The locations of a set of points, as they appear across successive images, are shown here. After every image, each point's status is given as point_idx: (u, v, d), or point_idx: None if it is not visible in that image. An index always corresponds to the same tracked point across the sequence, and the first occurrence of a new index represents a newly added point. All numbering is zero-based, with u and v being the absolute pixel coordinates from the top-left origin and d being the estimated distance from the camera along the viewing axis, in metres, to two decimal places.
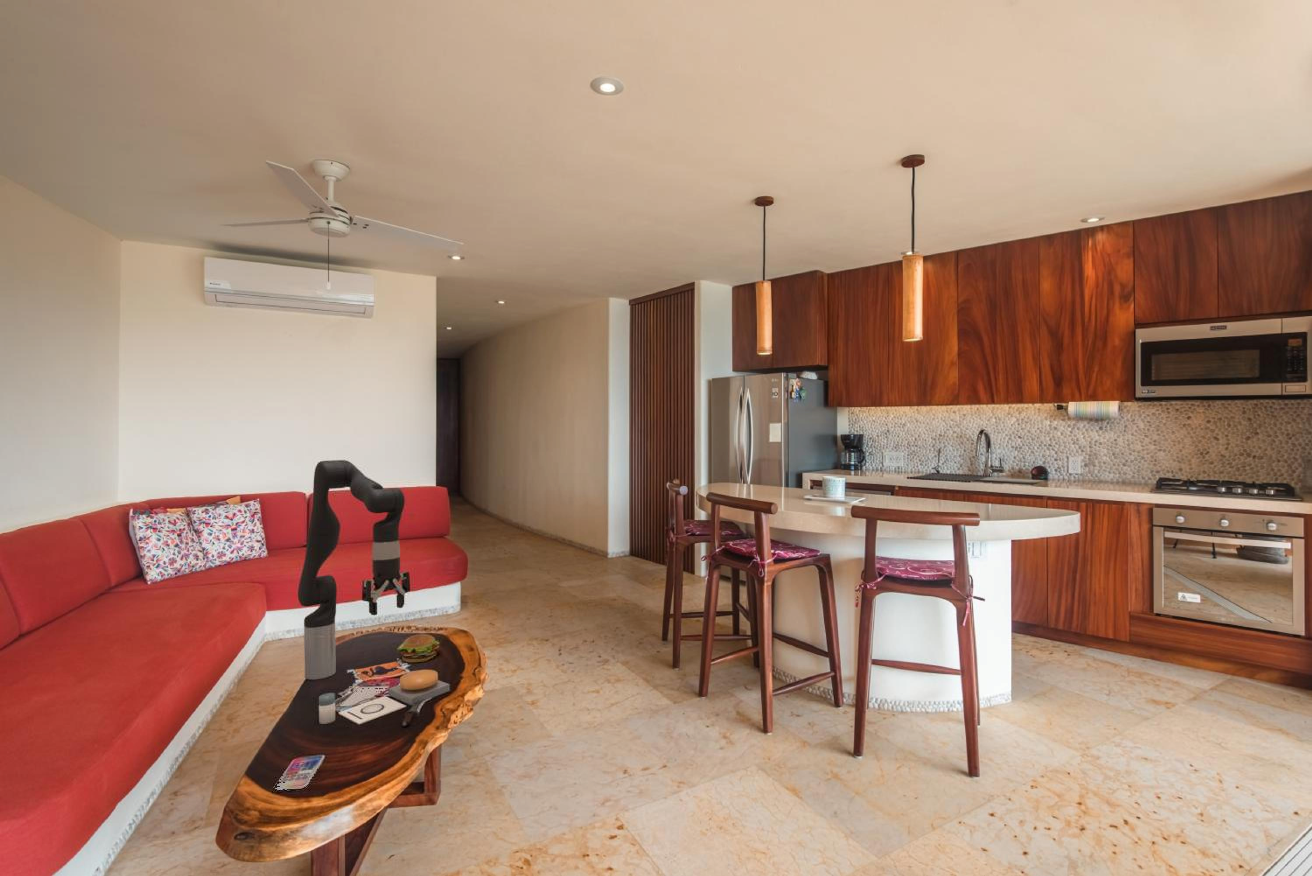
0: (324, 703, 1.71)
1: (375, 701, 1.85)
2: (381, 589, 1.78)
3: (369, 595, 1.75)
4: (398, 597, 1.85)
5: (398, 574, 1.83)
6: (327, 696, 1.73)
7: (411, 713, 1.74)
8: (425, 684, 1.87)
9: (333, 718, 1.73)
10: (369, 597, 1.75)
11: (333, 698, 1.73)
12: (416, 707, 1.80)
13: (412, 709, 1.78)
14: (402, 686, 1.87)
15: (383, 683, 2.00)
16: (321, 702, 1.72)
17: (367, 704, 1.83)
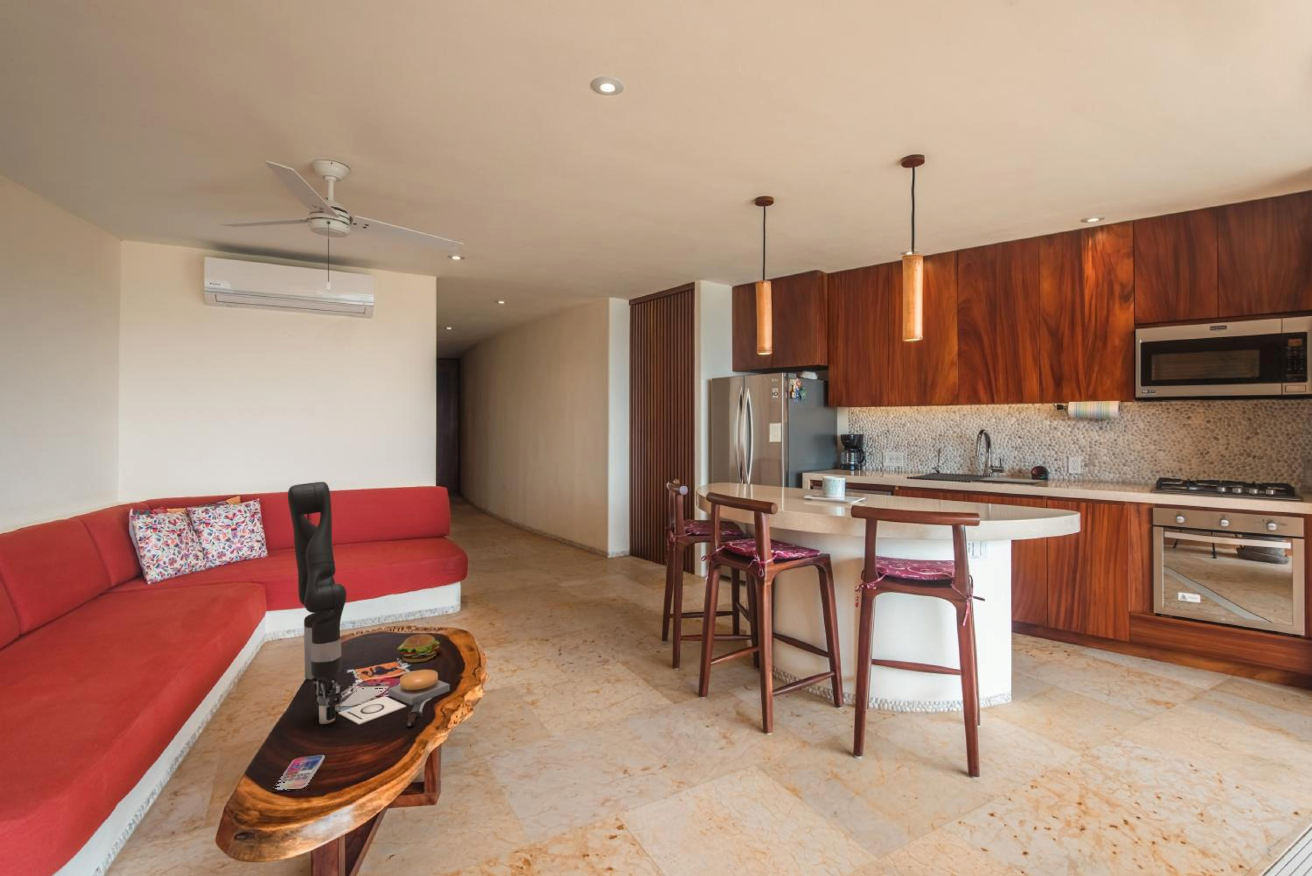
0: (324, 703, 1.71)
1: (375, 701, 1.85)
2: None
3: None
4: None
5: None
6: None
7: (414, 713, 1.74)
8: (425, 684, 1.87)
9: None
10: None
11: None
12: (417, 707, 1.80)
13: (414, 710, 1.78)
14: (402, 686, 1.87)
15: (383, 683, 2.00)
16: (321, 702, 1.72)
17: (367, 704, 1.83)
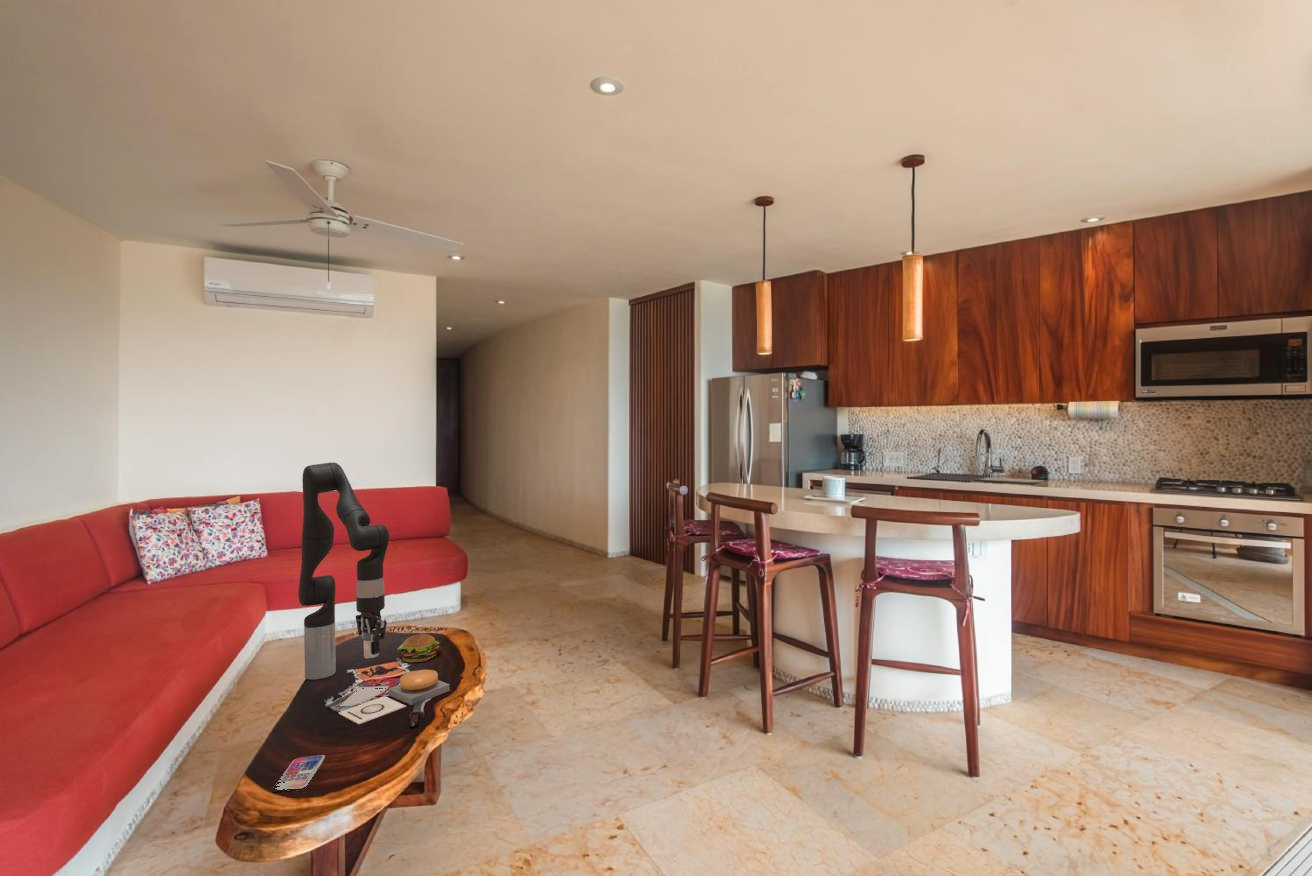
0: (369, 638, 1.78)
1: (375, 701, 1.85)
2: None
3: None
4: None
5: None
6: None
7: (416, 714, 1.74)
8: (425, 684, 1.87)
9: None
10: None
11: None
12: (418, 708, 1.79)
13: (415, 710, 1.78)
14: (402, 686, 1.87)
15: (383, 683, 2.00)
16: (366, 637, 1.78)
17: (367, 704, 1.83)
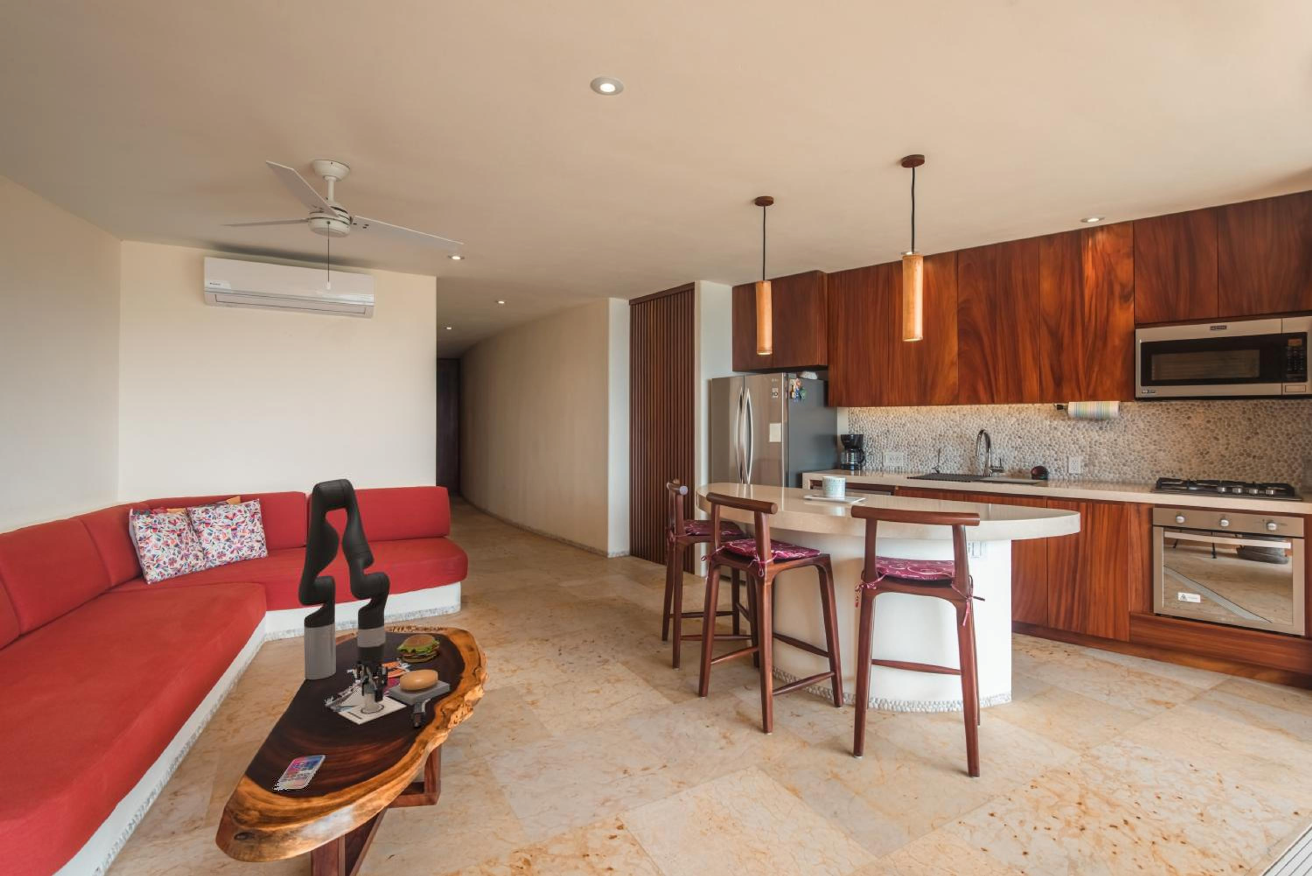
0: (369, 691, 1.78)
1: None
2: None
3: None
4: None
5: None
6: (372, 685, 1.79)
7: (418, 714, 1.74)
8: (425, 684, 1.87)
9: (378, 706, 1.79)
10: None
11: None
12: (419, 708, 1.79)
13: (416, 711, 1.77)
14: (402, 686, 1.87)
15: None
16: (366, 690, 1.78)
17: None
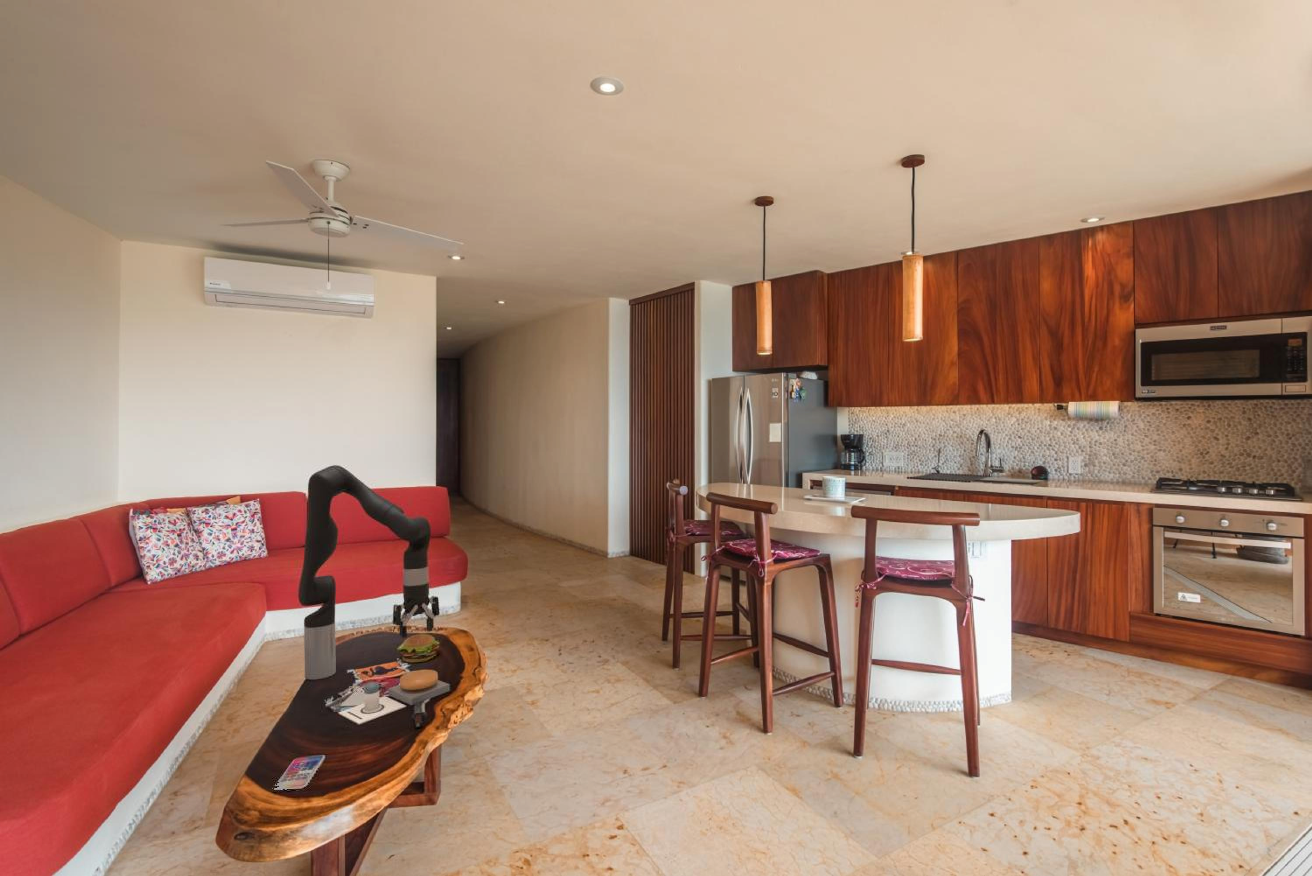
0: (369, 691, 1.78)
1: None
2: None
3: None
4: None
5: None
6: (372, 685, 1.79)
7: (419, 715, 1.73)
8: (425, 684, 1.87)
9: (378, 706, 1.79)
10: None
11: (378, 687, 1.80)
12: (419, 709, 1.79)
13: (416, 711, 1.77)
14: (402, 686, 1.87)
15: (383, 683, 2.00)
16: (366, 690, 1.78)
17: None
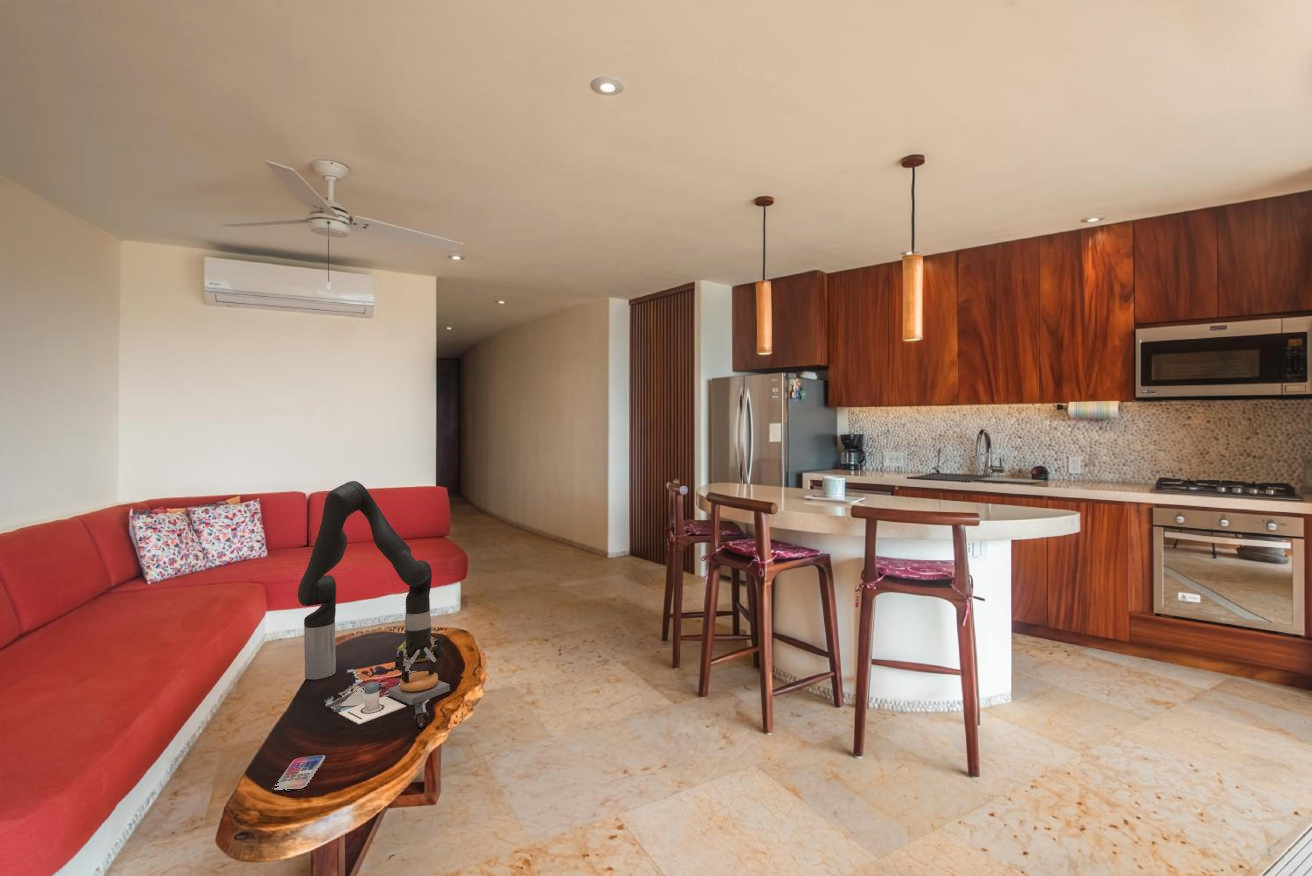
0: (369, 691, 1.78)
1: None
2: None
3: None
4: None
5: None
6: (372, 685, 1.79)
7: (421, 715, 1.73)
8: (425, 686, 1.87)
9: (378, 706, 1.79)
10: None
11: (378, 687, 1.80)
12: (420, 709, 1.78)
13: (418, 711, 1.77)
14: (402, 688, 1.87)
15: (383, 683, 2.00)
16: (366, 690, 1.78)
17: None
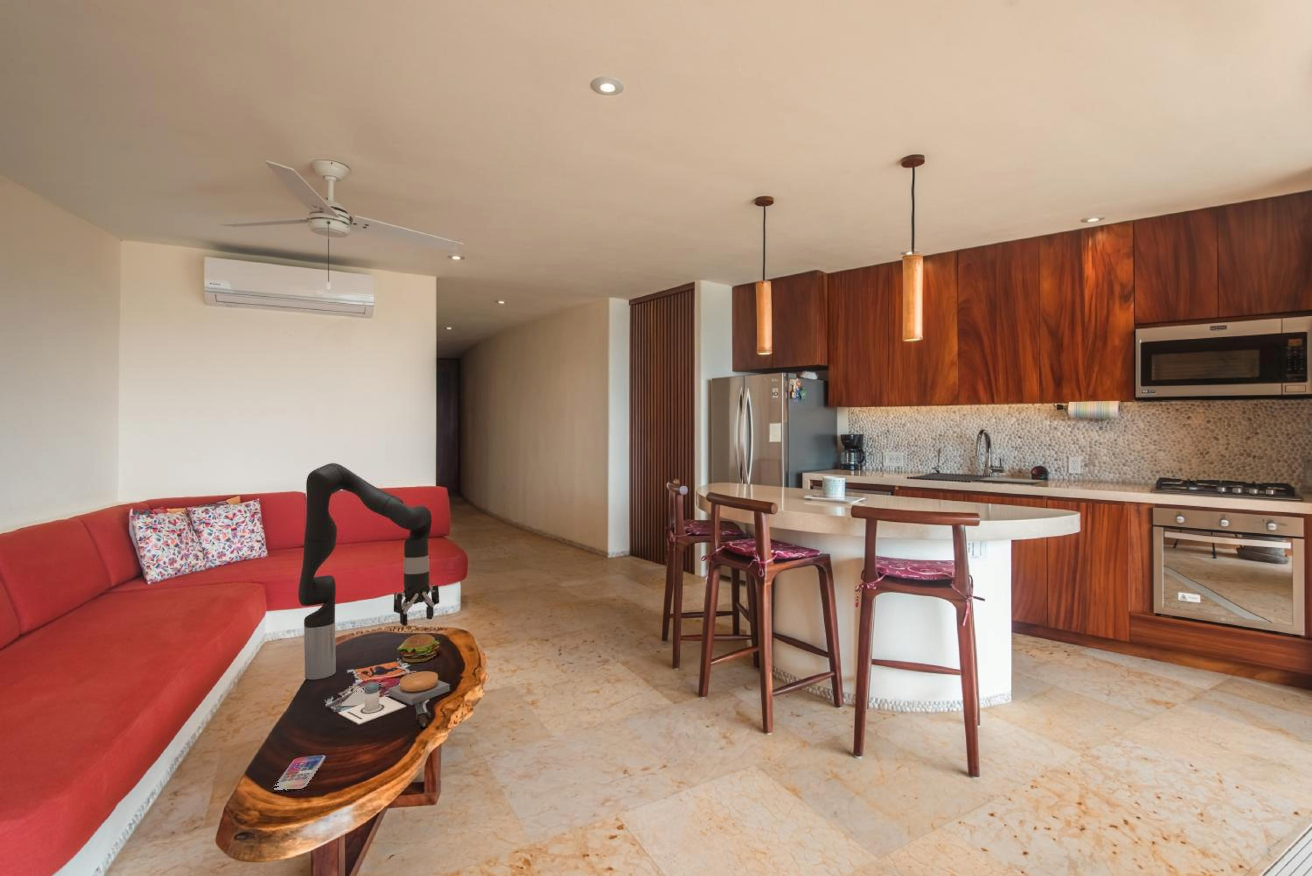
0: (369, 691, 1.78)
1: None
2: None
3: None
4: None
5: None
6: (372, 685, 1.79)
7: (423, 715, 1.73)
8: (425, 686, 1.87)
9: (378, 706, 1.79)
10: None
11: (378, 687, 1.80)
12: (421, 709, 1.78)
13: (419, 712, 1.76)
14: (402, 688, 1.87)
15: (383, 683, 2.00)
16: (366, 690, 1.78)
17: None
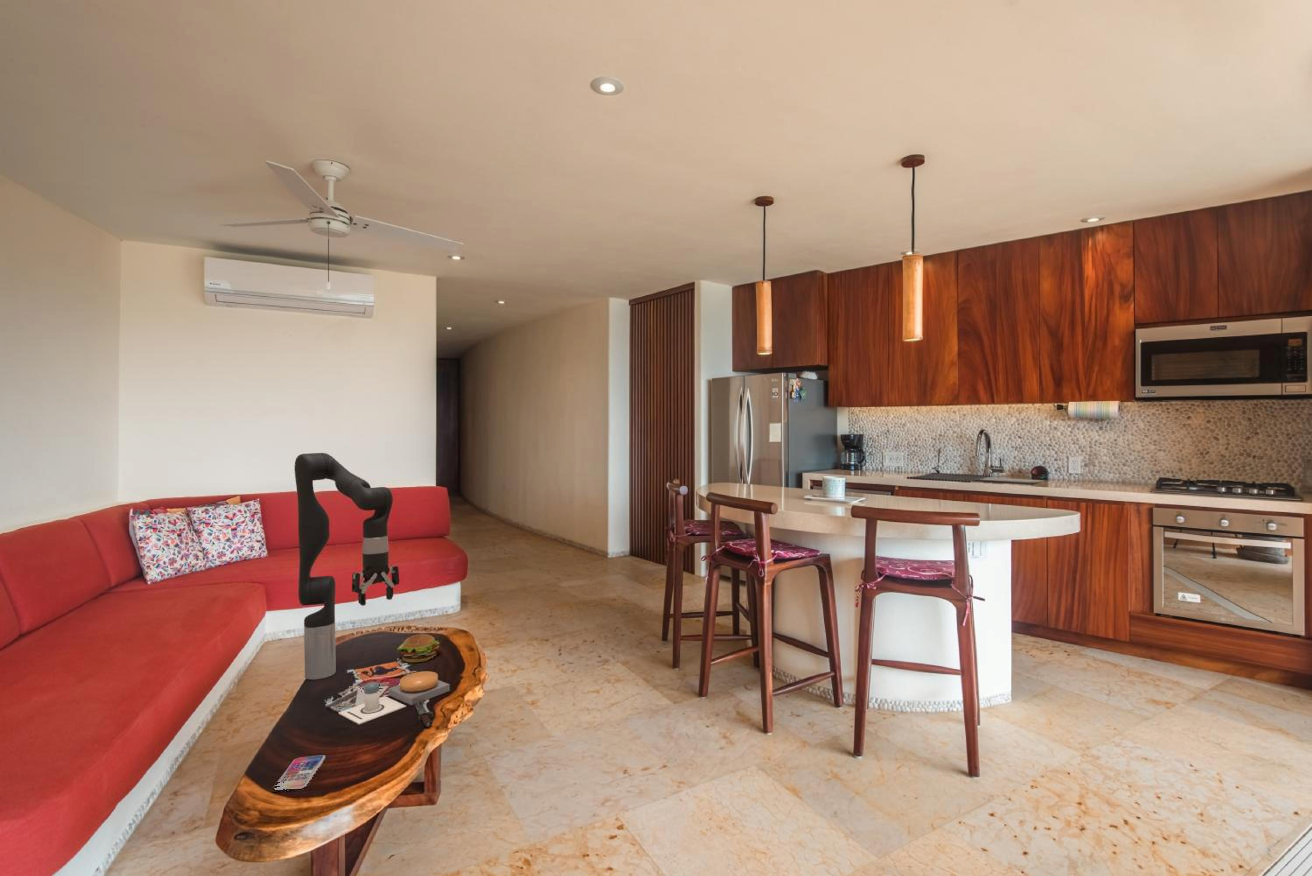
0: (369, 691, 1.78)
1: None
2: None
3: None
4: None
5: None
6: (372, 685, 1.79)
7: (426, 715, 1.73)
8: (425, 686, 1.87)
9: (378, 706, 1.79)
10: None
11: (377, 687, 1.80)
12: (423, 710, 1.78)
13: (421, 712, 1.76)
14: (402, 688, 1.87)
15: (383, 683, 2.00)
16: (366, 690, 1.78)
17: None
